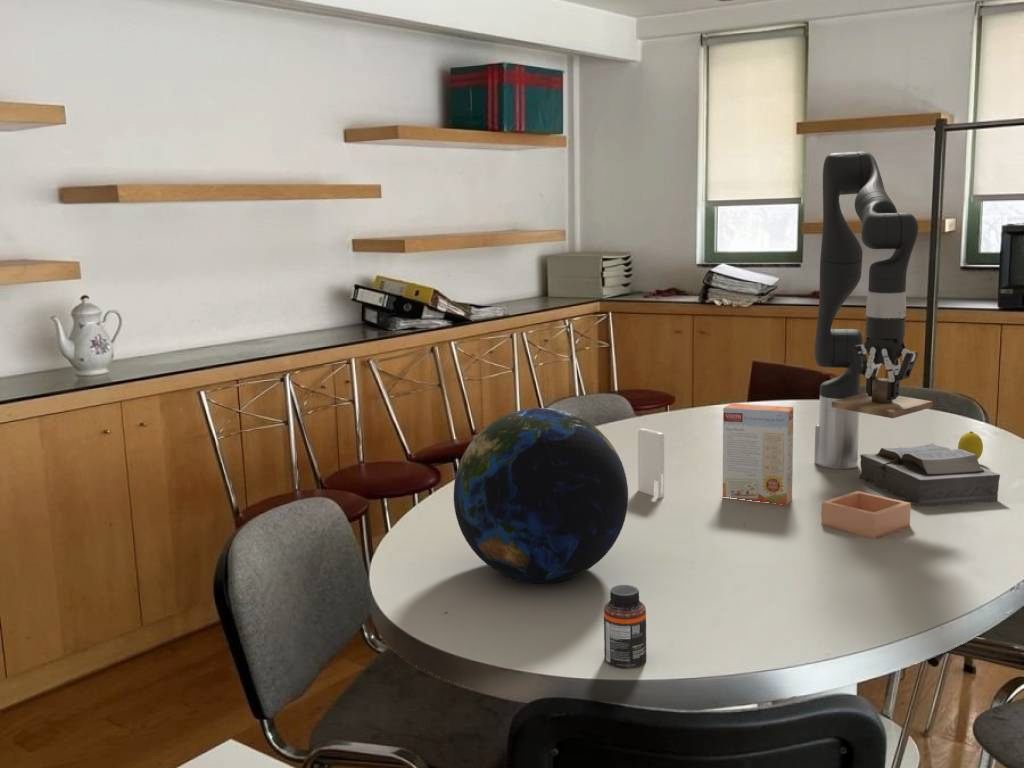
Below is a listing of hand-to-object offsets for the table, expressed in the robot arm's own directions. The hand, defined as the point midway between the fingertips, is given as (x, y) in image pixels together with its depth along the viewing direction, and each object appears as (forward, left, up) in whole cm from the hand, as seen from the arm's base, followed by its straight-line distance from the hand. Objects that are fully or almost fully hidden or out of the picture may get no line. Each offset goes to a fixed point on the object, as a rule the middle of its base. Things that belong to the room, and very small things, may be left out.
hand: (882, 397), depth 214 cm
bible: (-2, +22, -25) cm, 33 cm away
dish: (+4, -11, -24) cm, 27 cm away
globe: (-17, -77, -24) cm, 82 cm away
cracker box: (-22, -12, -24) cm, 35 cm away
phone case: (-39, -26, -24) cm, 53 cm away
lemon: (-8, +51, -24) cm, 57 cm away
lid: (0, 0, -2) cm, 2 cm away
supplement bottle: (+18, -91, -24) cm, 96 cm away
